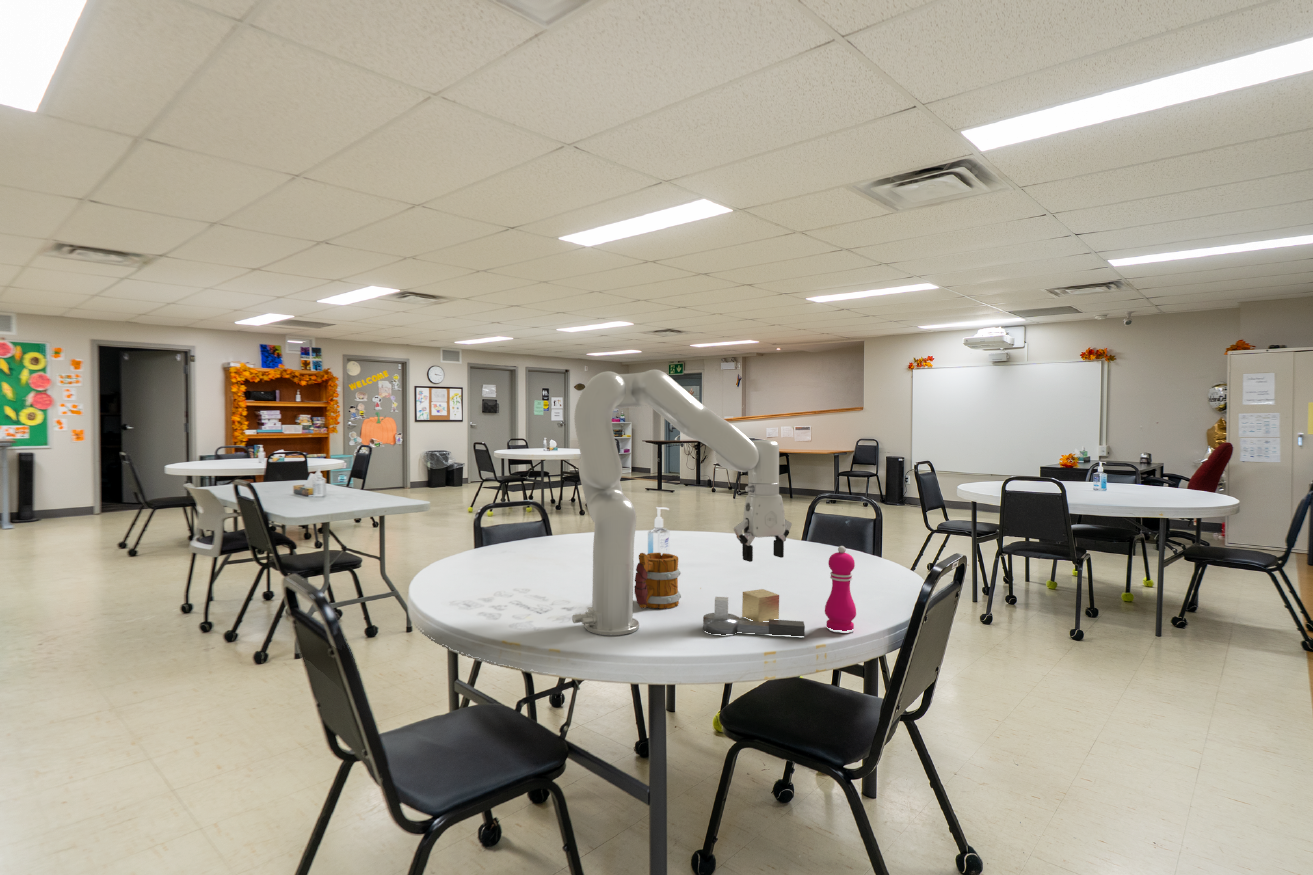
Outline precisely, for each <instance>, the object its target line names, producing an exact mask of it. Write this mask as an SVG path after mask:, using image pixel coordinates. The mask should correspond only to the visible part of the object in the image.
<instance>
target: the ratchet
mask: <svg viewBox="0 0 1313 875" xmlns="http://www.w3.org/2000/svg"><path fill="white" fill-rule="evenodd" d="M702 627H703V628H702V631H703V630H704V631H706V632H708V633H711V634H721V635H726V634H735V633H737V632H742V633H755V634H772V635H791V636H805V632H806V631H805V628H806V627H805V622H804V621H802V620H801V621H800V620H790V619H789V620H788V619H786V620H785V619H779V620H773V619H769V622H759V621H749V620H741V619H740V617H739V616H738V615H735V614H732V613H729V597H727V596H726V597H725V596H715V598H714V612H710V613H706V614H704V615H703V618H702ZM704 631H703V632H704ZM805 637H806V636H805Z"/></svg>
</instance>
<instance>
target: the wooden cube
mask: <svg viewBox="0 0 1313 875" xmlns="http://www.w3.org/2000/svg"><path fill="white" fill-rule="evenodd" d="M741 603H742V607H741V608H742V609H741V611H742V612H741V613H742V614H741V618H742V617H746V618H748V619H751V620H753V621H759V622H763V621H769V619H773V620H774V619H779V618H780V615H779V614H780V594H778V593H775V592H772V591H769V590H767V589H764V588H760V589H753V590H746V591H742V602H741ZM779 620H780V619H779Z"/></svg>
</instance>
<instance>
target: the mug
mask: <svg viewBox="0 0 1313 875" xmlns="http://www.w3.org/2000/svg"><path fill="white" fill-rule="evenodd" d="M635 571H636V572H635V577H634V583H635V584H634V585H633V589H634V595H635V599H636V603H637V604H638V605H639V608H640V609H646V608H648V609H653V608H655V610H656V608H658V609H659V610H663V609H666V608H668V609H674V608H675V607H679V605H678V604H680V602H679V600H680V599H681V598H682V595H681V593H680V591H679V590H678V589H679V582H678V581H679V576H680V575H681V574H682V573H681V571H680V569H679V557H678V556H677V555H675V554H671V553H665V552H664V553H661V552H650V553H647V554H646V552H640V553H639V554H638V563H637V565H636V568H635Z"/></svg>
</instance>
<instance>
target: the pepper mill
mask: <svg viewBox="0 0 1313 875" xmlns="http://www.w3.org/2000/svg"><path fill="white" fill-rule="evenodd" d="M827 563H828V567H829V569H830V570H831V572H830V575H829V576H830V577H829V578H830V579H831V581H832V582H831V584H832V585H831V591H830V594H829V596H828V598H827V599H826V600H827V601H826V603H825V606H824V614H825V616H826V617H827V618H828V619H827V620H826V626H827V627H828V628H831V629H833V630H842V631H847V630H852V629H854V628H855V624H854V622H853V620H854V619H855V618H856V617H857V608H856V603H855V601H854V600H853V597H852V594H851V581H852V580H853V574H852V571H853V570H854V569H855V568H856V567H855V566H856V565H855V560H854V557H853V556H852V555H850V554H849V553H847V552H846V547H845V546H844V545H840V546H838V548H837V552H834V553H832V554H831V555H830V556H829V558H828V562H827ZM854 630H855V629H854Z"/></svg>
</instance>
